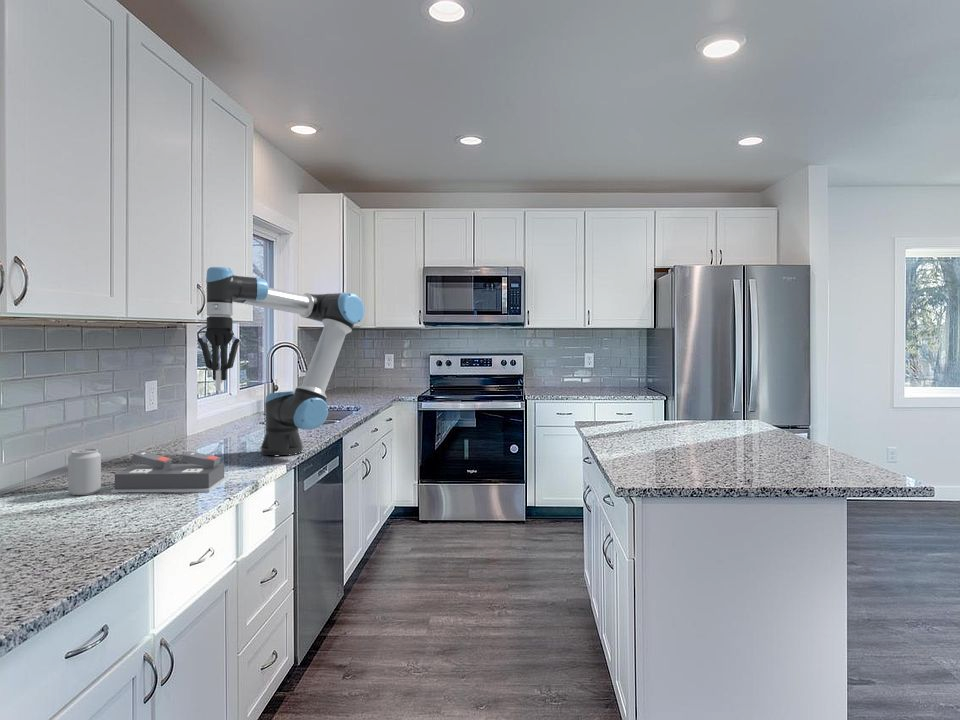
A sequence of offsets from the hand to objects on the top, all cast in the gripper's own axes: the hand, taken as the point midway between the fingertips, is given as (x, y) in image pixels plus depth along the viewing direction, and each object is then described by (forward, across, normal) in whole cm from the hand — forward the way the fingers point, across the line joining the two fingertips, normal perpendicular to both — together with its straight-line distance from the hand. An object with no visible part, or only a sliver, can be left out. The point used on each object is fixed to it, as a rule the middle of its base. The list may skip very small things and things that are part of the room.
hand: (219, 390), depth 183 cm
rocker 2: (+20, -1, -14) cm, 25 cm away
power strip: (+26, -8, -16) cm, 32 cm away
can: (+27, -28, -23) cm, 45 cm away
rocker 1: (+20, -15, -14) cm, 29 cm away
